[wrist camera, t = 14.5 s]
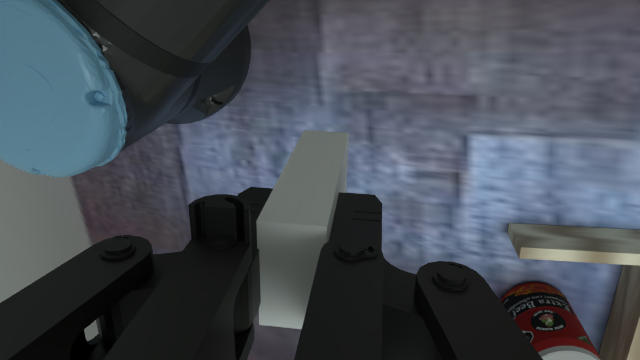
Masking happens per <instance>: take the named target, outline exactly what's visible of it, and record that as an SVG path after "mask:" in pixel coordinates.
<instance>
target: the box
mask: <svg viewBox="0 0 640 360" xmlns="http://www.w3.org/2000/svg"><path fill="white" fill-rule="evenodd" d="M508 235H509V238H510V240H511V242H512V244H513V246H514V248H515V250H516V252H517V255H518V257H519V258H523V259H539V260H556V261H573V262H589V263H606V264H622V265H623V267H622V271H621V275H620V278H619V282H618V286H617V289H616V293H615V297H614V301H613V304H612V308H611V312H610V315H609V319H608V323H607V327H606V330H605V334H604V338H603V341H602V345H601V349H600V352H599V356H600V358H601V360H640V230H634V229H614V228H595V227H576V226H556V225H537V224H518V223H509V227H508Z"/></svg>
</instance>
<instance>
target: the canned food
mask: <svg viewBox="0 0 640 360" xmlns="http://www.w3.org/2000/svg"><path fill="white" fill-rule="evenodd" d="M500 302H501V303H502V304H503V306H504V307H505V308H506V310H507V311H508V312H509V314H510V315H511V317H512V318H513V319H514V321H515V322H516V323H517V325H518V326H519V327H520V329H521V330H522V332H523V333H524V334H525V336H526V337H527V338H528V340H529V341H530V342H531V344H532V345H533V347H534V348H535V349H536V351H537V352H538V353H539V355H540V356H541V357H542V359H543V360H601V358H600V356H599V355H598V353H597V351H596V349H595V348H594V346H593V344H592V342H591V341H590V339H589V337H588V335H587V334H586V332H585V330H584V328H583V327H582V325H581V323H580V321H579V320H578V318H577V316H576V314H575V313H574V311H573V309H572V307H571V306H570V304H569V302H568V300H567V299H566V297H565V296H564V295H563V294H562V293H561V292H560V291H558V290H557V289H555V288H554V287H552V286H550V285H548V284H545V283H540V282H530V283H524V284H521V285H518V286H516V287H514V288H512V289H511V290H510V291H508V292H507V293H506V294H505V295H504V296H503V298H502V300H501V301H500Z"/></svg>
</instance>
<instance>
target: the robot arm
mask: <svg viewBox="0 0 640 360" xmlns="http://www.w3.org/2000/svg"><path fill="white" fill-rule="evenodd" d="M268 1H269V0H0V159H1V160H2V161H4V162H6V163H7V164H9V165H11V166H13V167H15V168H17V169H20V170H23V171H26V172H29V173H32V174H42V175H48V176H51V177H67V176H72V175H76V174H79V173H82V172H85V171H87V170H89V169H91V168H93V167H96V166H102V165H105V164H106V163H107V162H110V161H112V160H113V159H114V158H115V157H116V156H117V155H118V154H119V152H121V151H122V150H124V149H125V148H127V147H128V146H130V145H132V144H133V143H135V142H136V141H138V140H139V139H141V138H143V137H144V136H146V135H147V134H149V133H150V132H152V131H154V130H155V129H157V128H158V127H160V126H161V125H163V124H165V123H169V124H186V123H192V122H196V121H200V120H203V119H205V118H207V117H209V116H211V115H213V114H215V113H216V112H218V111H219V110H220V109H222V108H223V107H224V106H226V105H227V104H228V103H229V102H230V101H231V100H232V99H233V98H234V97H235V96H236V94H237V93H238V92H239V90H240V89H241V87H242V85H243V83H244V81H245V78H246V76H247V72H248V69H249V64H250V55H251V44H250V36H249V31H248V27H247V24H248V23H249V22H250V21H251V20H252V19H253V18H254V16H255V15H256V14H257V13H258V12H259V11H260V10H261V9H262V8H263V7H264V6H265V5H266V3H267V2H268ZM348 138H349V133H342V132H326V131H310V130H304V132H303V133H302V135H301V137H300V139H299V141H298V143H297V145H296V147H295V149H294V150H293V152H292V154H291V156H290V158H289V160H288V162H287V164H286V166H285V168H284V169H283V171H282V173H281V175H280V177H279V179H278V181H277V183H276V185H275V187H274V188H273V189H270V188H257V187H250V188H248V189H246V190H245V191H243V192H241V193H240V194H238V196H234V195H228V194H220V195H211V196H205V197H202V198H199V199H197V200H195V201H193V202H192V203H191V204H189V216H190V227H191V238H192V239H191V240H190V242H189V243H188V244H187V246H186V247H185V248H184V250H183V251H181V252H174V253H165V254H154V255H153V252H152V245H151V244H150V242H149V241H148V240H147V239H144V238H142V237H138V236H130V235H123V236H122V235H121V236H115V237H113V238H109V239H105V240H103V241H101V242H99V243H97V244H94V245H93V246H91V247H89V248H88V249H86V250H85V251H83V252H81V253H80V254H78V255H77V256H75V257H73V258H72V259H70V260H69V261H67V262H65V263H64V264H62V265H61V266H59V267H57V268H56V269H54V270H53V271H51V272H49V273H48V274H46V275H45V276H43V277H41V278H40V279H38V280H37V281H35V282H33V283H32V284H30V285H29V286H27V287H25V288H24V289H22V290H21V291H19V292H17V293H16V294H14V295H13V296H11V297H10V298H8V299H6V300H5V301H3V302H1V303H0V360H247V358H248V355H249V352H250V350H251V347H252V344H253V341H254V319H255V316H256V313H257V311H258V308H259V325H267V326H277V327H286V328H296V329H302V330H301V334H300V338H299V342H298V346H297V351H296V355H295V359H294V360H543V359H542V357H541V356H540V355H539V353H538V352H537V351H536V349H535V348H534V347H533V345H532V344H531V342H530V341H529V340H528V338H527V337H526V336H525V334H524V333H523V332H522V330H521V329H520V327H519V326H518V325H517V323H516V322H515V321H514V319H513V318H512V317H511V315H510V314H509V312H508V311H507V310H506V308H505V307H504V306H503V304H502V303H501V302H500V300H499V299H498V297H497V296H496V295H495V293H494V292H493V291H492V289H491V288H490V286H489V285H488V284H487V282H486V281H485V280H484V278H483V277H482V276H480V275H479V274H478V273H477V272H476V271H475V270H473V269H471V268H469V267H467V266H465V265H462V264H459V263H455V262H444V261H438V262H432V263H427V264H426V265H424V266H422V267H420V269H419V270H418V272H417V274H412V273H409V272H406V271H403V270H400V269H398V268H396V267H394V266H393V265H391V264H390V263H389V262H388V261H386V260H385V258H384V257H383V254H382V250H381V247H382V203H381V202H380V201H379V199H378V198H377V197H376V196H375V195H369V194H355V193H346V177H347V157H348ZM95 320H96V322H97V327H98V332H99V334H98V335H97V336H95V337H94V338H93V339H92V340H90V341H88V342H87V340H86V338H85V333H84V329H85V328H86V327H87V326H89V325H90V324H91V323H92V322H94V321H95Z"/></svg>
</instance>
